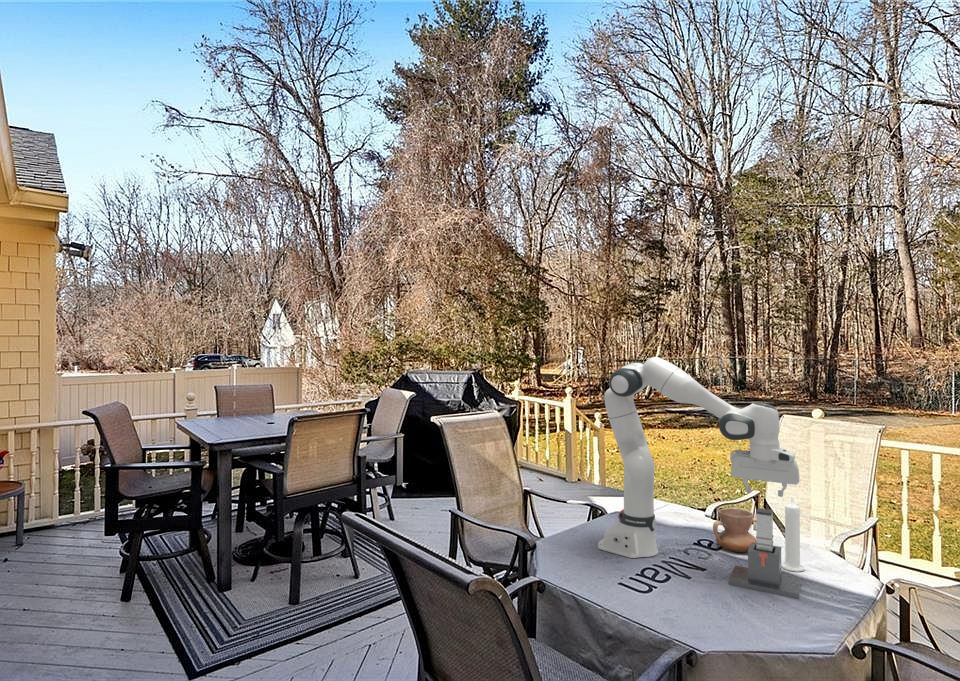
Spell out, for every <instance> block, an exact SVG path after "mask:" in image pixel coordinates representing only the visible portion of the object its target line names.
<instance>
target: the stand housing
mask: <svg viewBox="0 0 960 681" xmlns="http://www.w3.org/2000/svg"><path fill="white" fill-rule="evenodd" d="M756 547H757V544H756V543H755V542H751V544H750V547H749V549H748V552H747V567H746V566H745V567H744V566H739V565H734V567H733V570H732V572H731V573H730V576H729V578H728V585H730V586H733V587H738V586H739V588H743V589H745V588H746V589H748V590H753V589H754V591H759V592H763V593H769V594H773V595H778V596H782V597H783V596H784V597H787V598H793V599H799V598H800V590H801V584H802V577H799V576H793V575H788V574H782V567H781V564H782V546H778V545H777V546H776V545H773V547H774V549H773V553H770V552H764V551H758V550H756Z"/></svg>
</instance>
